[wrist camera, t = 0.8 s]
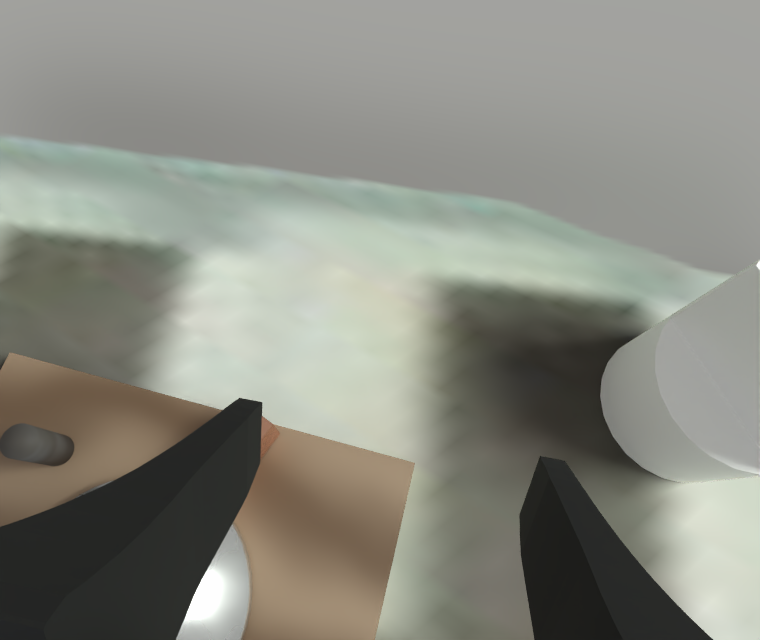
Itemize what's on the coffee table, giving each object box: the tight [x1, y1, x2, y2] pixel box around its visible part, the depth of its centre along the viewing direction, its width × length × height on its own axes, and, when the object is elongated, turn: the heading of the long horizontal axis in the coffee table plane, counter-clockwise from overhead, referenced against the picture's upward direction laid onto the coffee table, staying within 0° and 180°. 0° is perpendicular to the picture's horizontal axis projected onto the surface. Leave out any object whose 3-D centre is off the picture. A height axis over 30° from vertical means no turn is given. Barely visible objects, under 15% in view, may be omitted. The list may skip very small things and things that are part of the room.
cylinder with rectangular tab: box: [600, 259, 760, 483], centre depth 26 cm, size 9×9×12 cm
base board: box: [0, 352, 415, 640], centre depth 24 cm, size 19×23×5 cm
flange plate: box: [74, 416, 281, 640], centre depth 24 cm, size 16×11×3 cm
